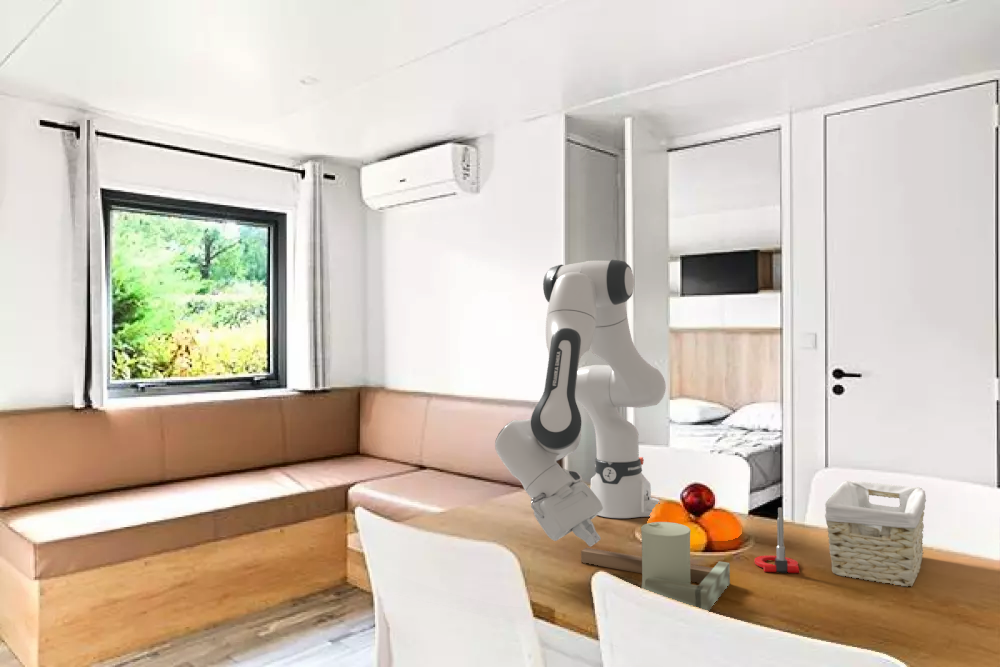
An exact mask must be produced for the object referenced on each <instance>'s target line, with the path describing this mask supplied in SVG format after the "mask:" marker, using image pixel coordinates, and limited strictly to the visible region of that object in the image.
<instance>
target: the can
mask: <svg viewBox="0 0 1000 667" xmlns="http://www.w3.org/2000/svg"><path fill="white" fill-rule="evenodd" d="M640 531H641V557H642V573H641V574H642V575H641V577H642V578H641V589H642V588H644V589H645V580H646V579H647V578H648V577H652V578H658V579H663V580H669V581H675V582H681V583H686V584H692V582H691V579H690V564H691V528H690V527H689V526H687V525H684V524H681V523H677V522H669V521H654V522H649V523H648V522H647V523H644V524H643V525H642V526H641V527H640Z"/></svg>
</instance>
